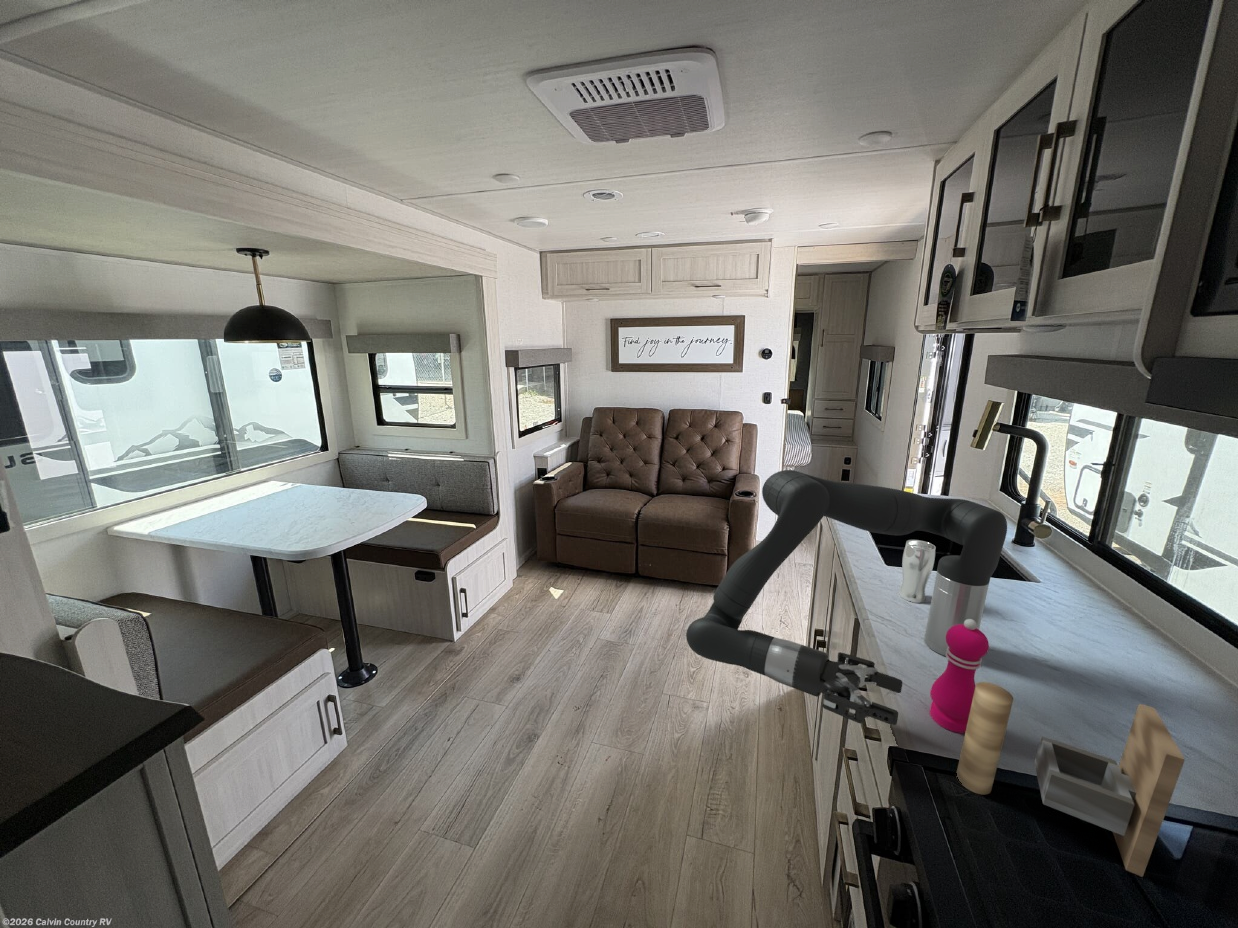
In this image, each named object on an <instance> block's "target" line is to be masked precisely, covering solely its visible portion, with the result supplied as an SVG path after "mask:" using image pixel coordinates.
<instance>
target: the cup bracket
mask: <svg viewBox="0 0 1238 928" xmlns="http://www.w3.org/2000/svg"><path fill="white" fill-rule="evenodd" d="M1128 733H1129V734H1128V737H1127V739H1126V743H1125V745H1124V749H1123V752H1122V756H1121V758H1120V762H1119V765H1118V762H1117V760H1115V759H1112V758H1110V757H1107V756H1104V755H1100V754H1097V753H1094V752H1091V751H1088V750H1086V749H1082V748H1079V747H1077V746H1075V745H1074V746H1073V745H1071V744H1068V743H1064V742H1061V741H1058V740H1055V739H1054V738H1050V737H1047V736H1044V735H1041V736H1040V741H1039V744H1038V748H1037V752H1036V755H1035V758H1034V763H1033V764H1034V770H1035V773H1036V778H1037V783H1038V788H1039V791H1040V796H1041V800H1042V804H1043V805H1044V806H1046V807H1050V808H1052V809H1054V810H1057V811H1060V812H1061V813H1065V814H1067V815H1070V816H1072V817H1075V818H1077V819H1080V820H1082V821H1084V822H1087V823H1090V824H1092V825H1095V826H1098V827H1100V828H1102V829H1106V830H1108V831H1109V832H1110V831H1111V832H1112V834H1113V836H1114V839H1115V843H1116V845H1117V848H1118V850H1119V851H1118V852H1119V853H1120V857H1121V860H1122V862H1123V866H1124V868H1125V870H1126V871H1127V872H1129V873H1132V874H1135V875H1137V876H1139V877H1141V878H1143V877H1144V874H1145V872H1146V868H1147V866H1148V864H1149V862H1150V858H1151V856H1152V852H1153V849H1154V847H1155V845H1156V844H1155V843H1156V841H1157V838H1158V836H1159V832H1160V830H1161V827H1162V824H1163V822H1164V819H1165V816H1166V813H1167V811H1168V808H1169V805H1170V802H1171V799H1172V797H1173V794H1174V790H1175V789H1176V786H1177V783H1178V780H1179V777H1180V774H1181V772H1182V768H1183V766H1184V763H1185V761H1186V759H1185V758H1184V756H1183V754H1182V752H1181V750H1180V749H1179V747H1178V746H1177V743H1176V742H1175V740H1174V738H1173V737H1172V735H1171V733H1170V732H1169V730H1168V728H1167V726H1166V725H1165V723H1164V721H1163V720H1162V718H1161V717H1160V714H1159V713H1158V712H1157V709H1156V708H1155V707H1152V706H1149V705H1145V704H1141V703H1138V705H1137V709H1136V711H1135V715H1134V718H1133V721H1132V724H1131V727H1130V730H1129V732H1128Z"/></svg>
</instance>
